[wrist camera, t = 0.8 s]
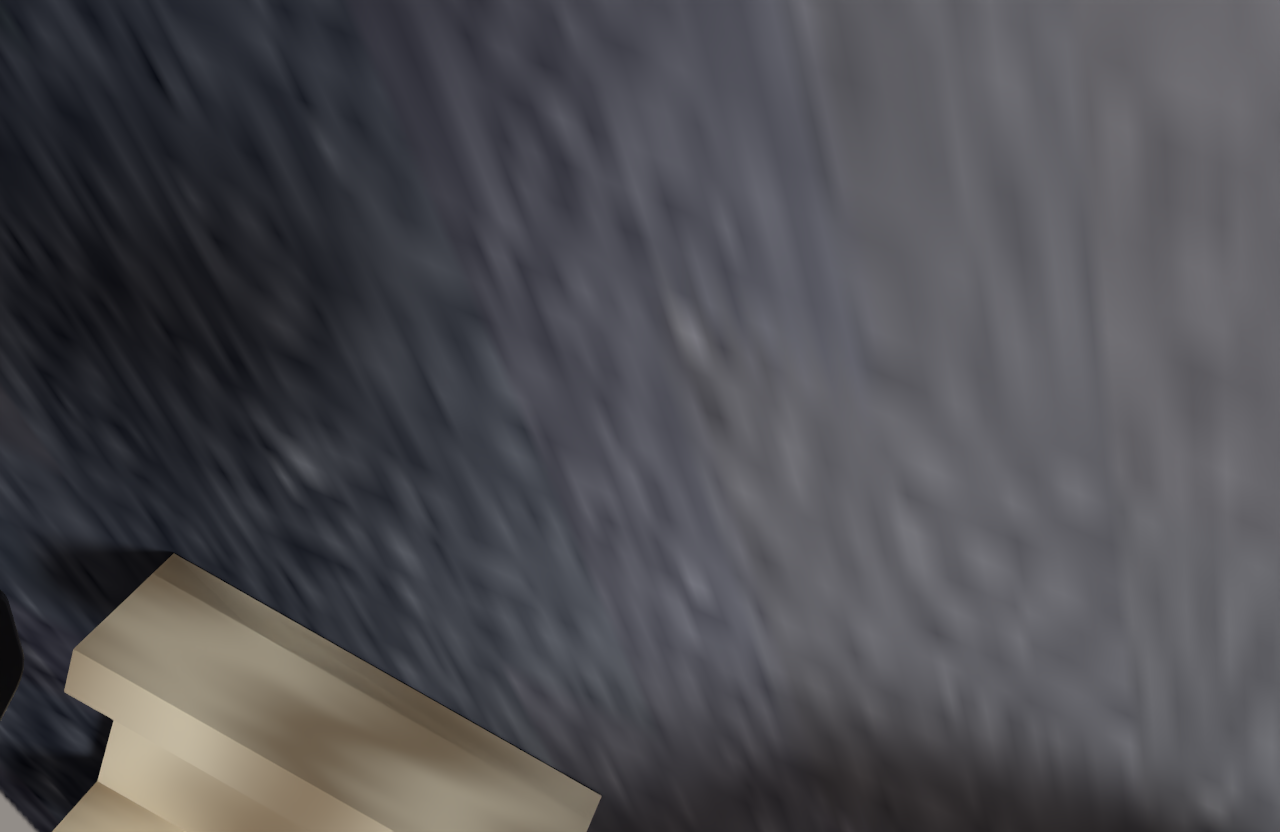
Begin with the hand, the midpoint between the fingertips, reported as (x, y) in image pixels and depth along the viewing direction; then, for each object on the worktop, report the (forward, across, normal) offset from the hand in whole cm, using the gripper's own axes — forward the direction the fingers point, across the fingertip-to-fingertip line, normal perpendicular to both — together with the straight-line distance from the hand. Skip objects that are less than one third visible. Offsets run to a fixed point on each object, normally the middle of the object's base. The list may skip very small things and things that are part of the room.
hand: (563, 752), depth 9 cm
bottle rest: (+12, +7, +20) cm, 24 cm away
